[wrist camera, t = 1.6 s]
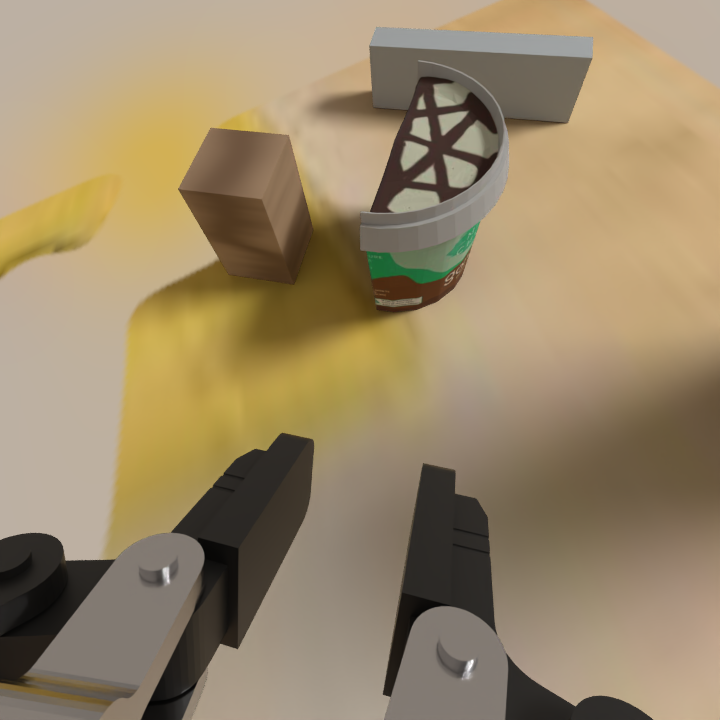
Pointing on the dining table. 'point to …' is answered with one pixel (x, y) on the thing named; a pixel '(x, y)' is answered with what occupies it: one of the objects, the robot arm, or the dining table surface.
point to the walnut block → (250, 203)
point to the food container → (434, 189)
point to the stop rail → (485, 67)
